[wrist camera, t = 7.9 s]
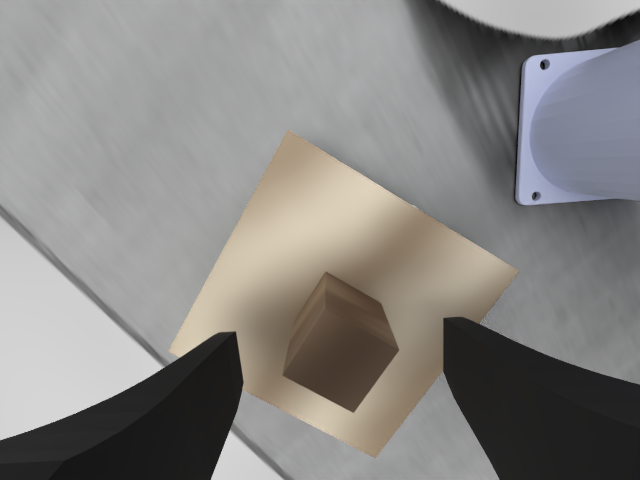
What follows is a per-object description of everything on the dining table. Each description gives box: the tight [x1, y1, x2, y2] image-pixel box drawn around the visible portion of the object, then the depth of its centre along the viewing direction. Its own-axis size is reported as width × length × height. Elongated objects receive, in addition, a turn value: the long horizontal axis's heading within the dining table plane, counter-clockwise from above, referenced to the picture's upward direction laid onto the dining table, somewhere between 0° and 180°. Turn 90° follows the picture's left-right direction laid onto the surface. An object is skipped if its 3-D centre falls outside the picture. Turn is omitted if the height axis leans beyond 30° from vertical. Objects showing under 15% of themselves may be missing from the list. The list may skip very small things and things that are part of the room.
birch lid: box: [168, 130, 519, 458], centre depth 14 cm, size 12×12×5 cm
